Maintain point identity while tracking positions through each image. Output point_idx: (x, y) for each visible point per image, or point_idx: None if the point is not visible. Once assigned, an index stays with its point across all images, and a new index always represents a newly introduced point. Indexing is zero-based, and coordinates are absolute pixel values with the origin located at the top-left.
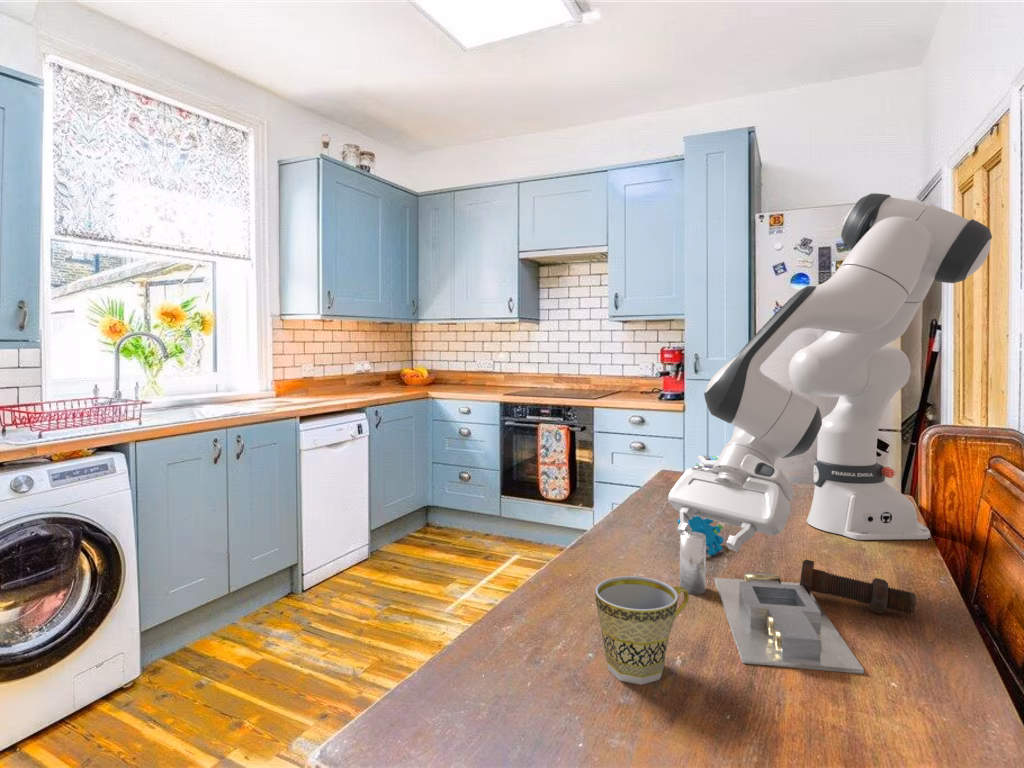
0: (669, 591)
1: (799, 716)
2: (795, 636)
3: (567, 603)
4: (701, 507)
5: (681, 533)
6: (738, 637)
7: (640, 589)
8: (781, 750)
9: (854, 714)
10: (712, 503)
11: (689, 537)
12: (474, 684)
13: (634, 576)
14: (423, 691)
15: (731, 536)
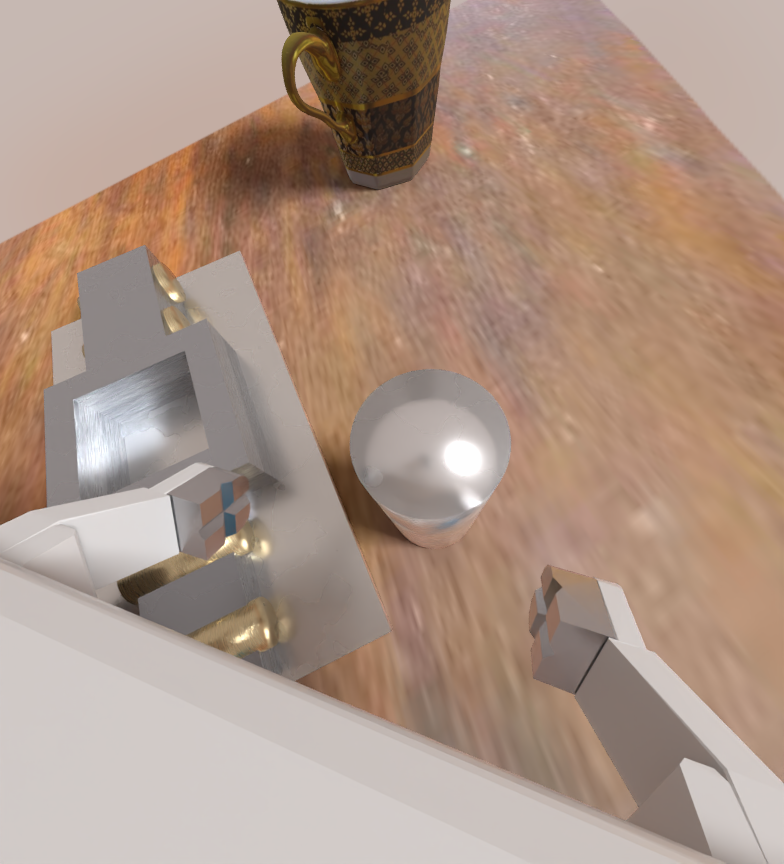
0: (306, 15)
1: (168, 203)
2: (121, 259)
3: (649, 240)
4: (475, 768)
5: (503, 428)
6: (254, 305)
7: (389, 35)
8: (190, 152)
9: (102, 242)
10: (278, 847)
11: (430, 390)
12: (545, 44)
13: None
14: (581, 13)
15: (192, 495)
